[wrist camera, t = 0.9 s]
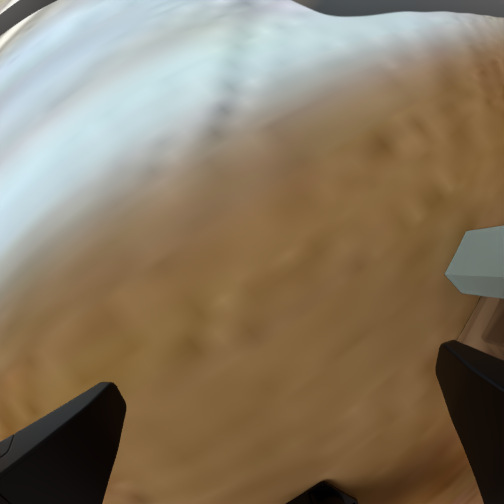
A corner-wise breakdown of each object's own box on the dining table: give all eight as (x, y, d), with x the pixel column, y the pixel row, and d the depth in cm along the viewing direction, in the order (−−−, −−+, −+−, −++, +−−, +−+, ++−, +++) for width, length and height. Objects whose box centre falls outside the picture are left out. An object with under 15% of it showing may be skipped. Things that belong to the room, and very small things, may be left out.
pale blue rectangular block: (482, 250, 23) (557, 246, 13) (461, 293, 23) (540, 303, 13) (466, 231, 23) (543, 219, 13) (444, 274, 23) (526, 278, 13)
